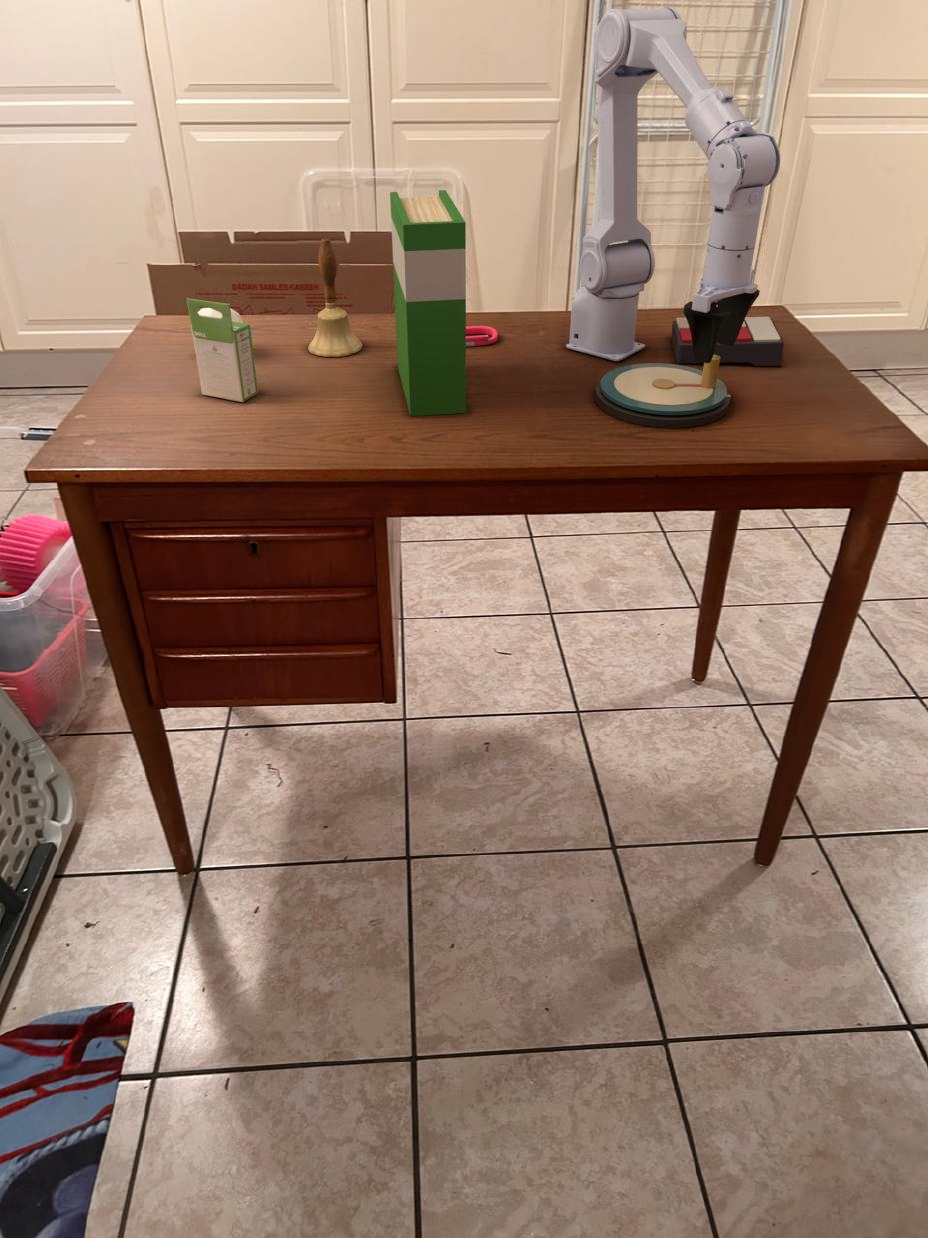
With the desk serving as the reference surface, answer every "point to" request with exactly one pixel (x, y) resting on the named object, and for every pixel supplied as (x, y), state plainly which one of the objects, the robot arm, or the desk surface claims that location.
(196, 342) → the ink box
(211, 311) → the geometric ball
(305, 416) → the desk surface
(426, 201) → the hardback book
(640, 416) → the stand
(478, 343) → the fitness band
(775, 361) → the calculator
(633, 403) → the turntable with peg
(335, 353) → the hand bell
